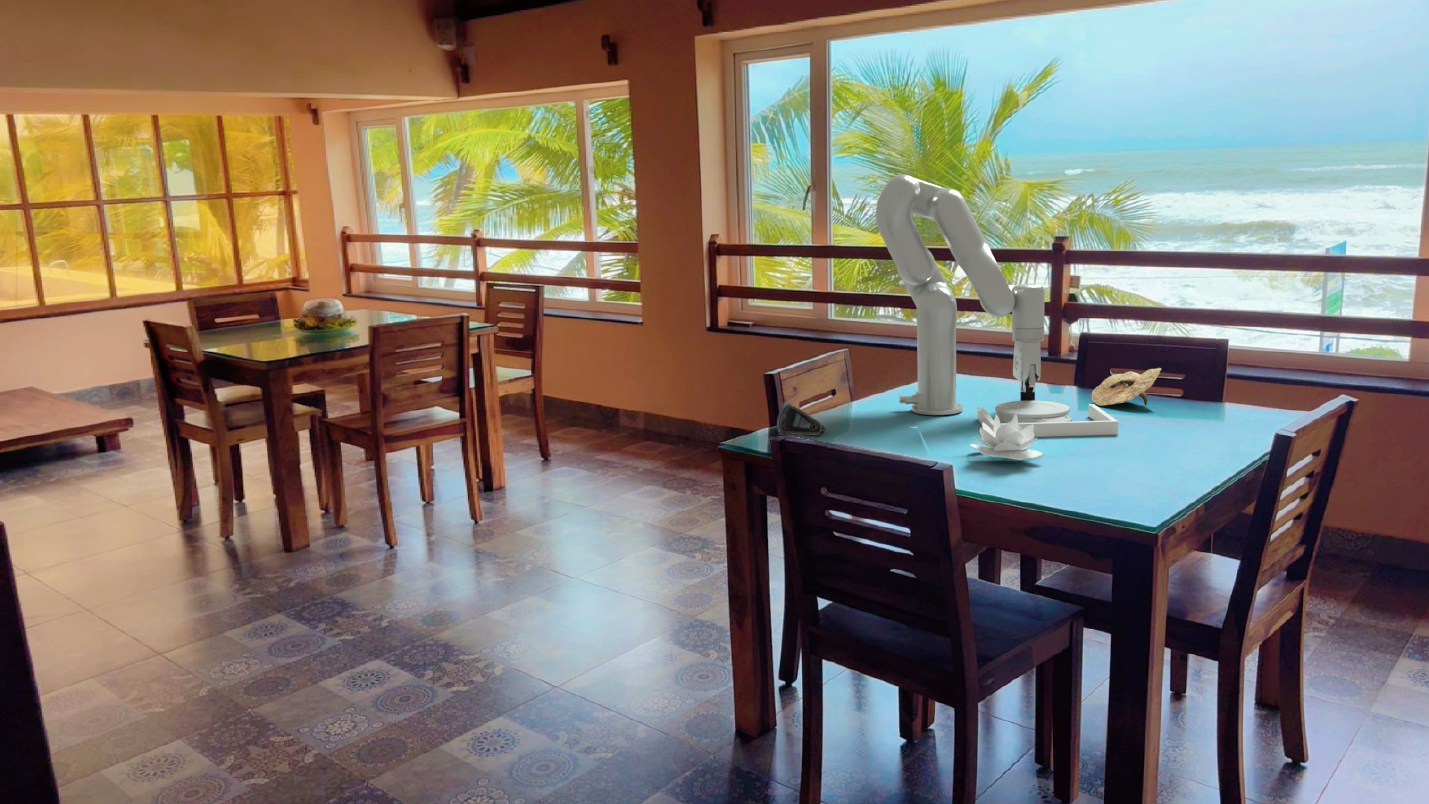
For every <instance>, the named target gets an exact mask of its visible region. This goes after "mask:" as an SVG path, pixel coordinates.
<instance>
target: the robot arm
mask: <svg viewBox="0 0 1429 804" xmlns="http://www.w3.org/2000/svg"><path fill="white" fill-rule="evenodd" d="M912 214H913V215H915V216H919V217H921V218H922V217H923V218H926V219H929V220H933V221H934V222H935V224H936V226H937V227H938V229H939V231H940V233H941V235H942V237H943V239H944V241H945V243H946V245H947V246H948V248H949V250H950V252H951V255H952V257H953V258H954V260H955V261H956V264H957V265H958V266H959V267H960V268H961V269H962V271H963V272H964V273H965V275H966V277H967V278H968V281H969V282H970V284H971V286H972V287H973V290H974V291H975V293H976V295H977V297H978V299H979V303H980V306H981V307H982V309H983V310H984V311H985V312H986V313H987V314H988V315H989V316H991V317H993V318H998V319H999V318H1004V317H1006V316H1008V315H1010V313H1012V323H1011V324H1012V336H1011V337H1012V342H1014V347H1013V362H1012V363H1013V364H1012V376H1013V377H1014V378H1015V379H1016V380H1018V382H1019V383H1020V393H1019V394H1020V399H1019V401H1036V382H1039V381H1040V380H1041V377H1042V376H1041V375H1042V374H1041V373H1042V372H1041V371H1042V370H1041V369H1042V365H1041V364H1042V360H1041V359H1042V358H1041V357H1042V356H1041V355H1042V354H1041V342H1043V341H1045V288H1044V286H1043V285H1042V284H1038V283H1021V284H1017V285H1015V284H1009V283H1008V282H1007V280H1006V278H1005V276H1004V274H1003V272H1002V270H1001V268H1000V266H999V265H998V263H997V261H996V259H995V257H994V255H993V252H992V250H991V248H990V245H989V244H988V241H987V239H986V238H985V236H984V235H983V232H982V231H981V228H980V226H979V225H978V223H977V221H976V218H974V215H973V213H972V211H971V210H970V208H969V205H968V204H967V202H966V199H965V198H964V197H963V195H962V194H961V193H960V192H959V191H958V190H955V189H952V188H948V187H943V186H939V185H936V184H933V183H930V182H927V181H924V180H921V179H918V178H915V177H913V176H911V175H909V174H906V173H905V174H904V173H903V174H898V175H897V174H896V175H895V176H893V177H892V178H890V180H888V182H887V183H886V185H885V186H884V188H883V190H882V192H881V193H880V195H879V197H878V200H877V203H876V210H875V219H876V224H877V229H878V231H879V234H880V236H881V238H882V239H883V240H882V241H883V242H884V244H885V246H886V248H887V250H888V253H889V254H890V257H891V259H892V260H893V262H894V264H895V267H896V270H897V273H898V275H899V277H900V278H901V280H902V282H903V284H904V286H905V288H906V289H907V291H908V293H909V295H910V298H911V299H912V301H913V303H914V305H915V306H916V335H917V336H916V350H917V391H915V394H911V395H899V398H898V399H899V401H898V402H899V404H905V405H910V404H912V406H911V411H912V412H913V413H915V414H920V415H924V416H925V415H928V416H947V415H955V414H959V413H961V412H962V411H963V404H960V403H958V402H957V317H958V316H957V315H958V306H957V305H958V304H957V300H956V297H955V295H954V293H953V291H952V290H951V289H950V287H949V284H948V283H947V281H946V279H945V277H944V275H943V274H942V272H941V270H940V267H939V266H938V264H937V262H936V260H935V257H934V256H933V254H932V252H931V251H930V250H929V249H928V247H927V246H926V244H925V241H924V240H923V238H922V237H921V234H920V232H919V230H918V228H917V226H916V224H915V222H914V219H913V215H912Z"/></svg>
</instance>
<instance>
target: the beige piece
mask: <svg viewBox="0 0 1429 804" xmlns="http://www.w3.org/2000/svg"><path fill="white" fill-rule="evenodd" d="M1161 371H1162V368H1161V367H1157V368H1150V369H1147V370H1146V371H1144V372H1143V373H1141V374H1140V373H1138V372H1134V371H1126V372H1125V373H1117V374H1113V375H1109V376H1108V377H1107V378H1105V379H1104V380H1103V381H1102V382H1101V383H1100V384H1099V385H1098V386H1096V387H1095V388H1094V389H1093V390H1092V391H1091V400H1092V402H1094V404H1095V405H1098V406H1107V405H1108V406H1109V405H1115V404H1121V403H1122V404H1123V403H1126V402H1130V401H1132V400H1134V398H1136V397H1138V396H1139V397H1141V399H1142V400H1143V403H1144V406H1147V405H1148V402H1149V401H1148V400H1149V399H1148V397H1147V394H1146V391H1147V390H1148V389H1150V388H1151V387H1152V386H1153V385H1154V383H1155V381H1156V380H1157V378H1158V377H1159V375H1161V374H1160V372H1161Z"/></svg>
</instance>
